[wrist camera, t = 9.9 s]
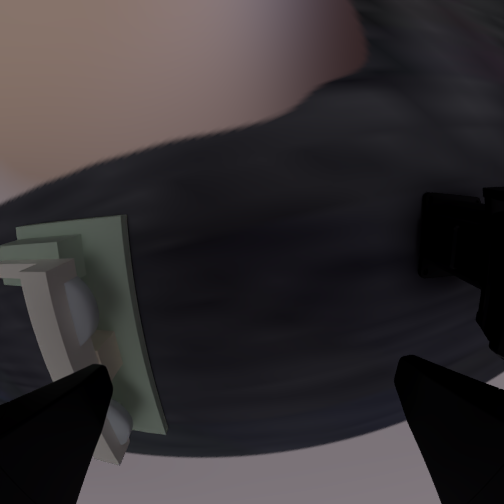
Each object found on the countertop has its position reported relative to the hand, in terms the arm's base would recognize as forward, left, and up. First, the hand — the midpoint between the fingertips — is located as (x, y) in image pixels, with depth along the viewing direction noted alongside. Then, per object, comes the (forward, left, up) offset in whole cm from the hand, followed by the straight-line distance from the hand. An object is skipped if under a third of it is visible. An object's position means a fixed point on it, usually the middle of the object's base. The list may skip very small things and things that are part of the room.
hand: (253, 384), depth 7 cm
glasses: (+14, +6, -8) cm, 17 cm away
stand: (+14, +6, -12) cm, 19 cm away
